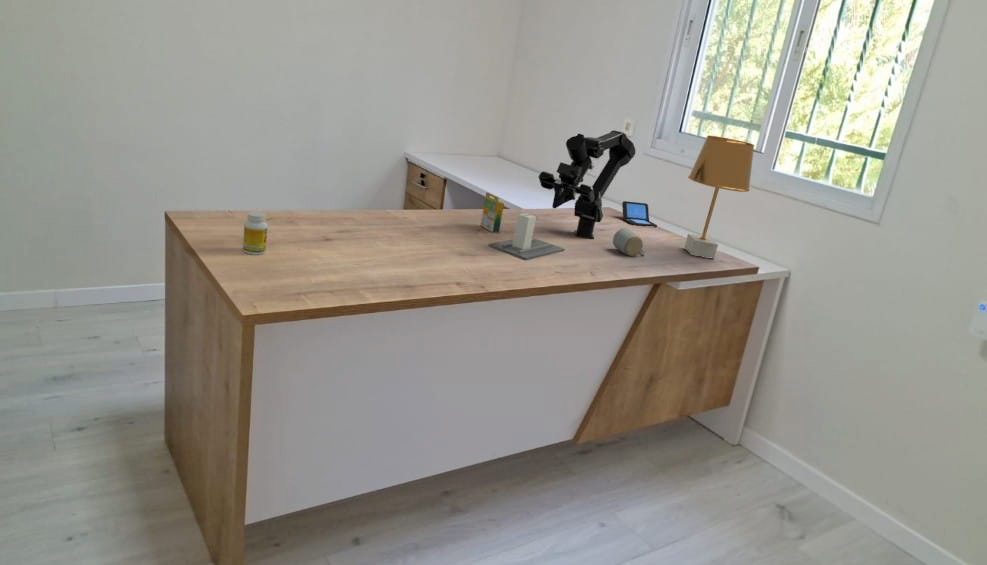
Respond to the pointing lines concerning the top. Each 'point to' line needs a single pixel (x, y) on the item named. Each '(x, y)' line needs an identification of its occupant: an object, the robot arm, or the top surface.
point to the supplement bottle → (255, 234)
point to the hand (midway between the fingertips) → (553, 207)
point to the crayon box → (492, 213)
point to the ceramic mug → (628, 242)
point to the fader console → (535, 250)
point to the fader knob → (524, 231)
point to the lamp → (719, 180)
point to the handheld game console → (636, 214)
